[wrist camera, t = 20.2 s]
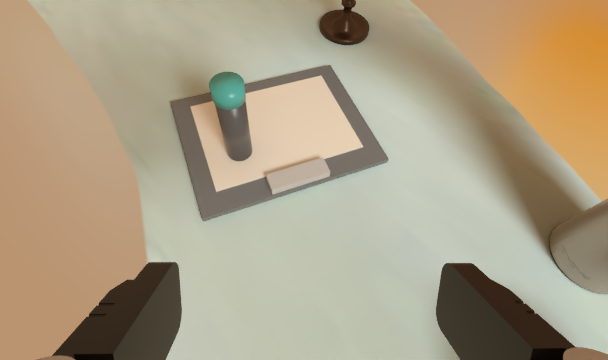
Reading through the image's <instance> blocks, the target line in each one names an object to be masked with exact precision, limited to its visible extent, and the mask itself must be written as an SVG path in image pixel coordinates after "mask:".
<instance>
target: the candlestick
mask: <svg viewBox="0 0 608 360" xmlns="http://www.w3.org/2000/svg"><path fill="white" fill-rule="evenodd" d="M342 5H343V6H344V10H334V11H330V12H328V13H326V14H325V15H324V16H323V17H322V18H321V21H320V31H321V33H322V34H323V36H324V37H325V38H327V39H328V40H330V41H332V42H334V43H337V44H342V45H353V44H357V43H360V42H362V41H363V40H364V39H365V38H366V37H367V35H368V31H369V24H368V22H367V20H366V19H365V18H364V17H362V16H361V15H359V14H358V13H355V12H352V11H351V9H352V7H354V6H355V5H356V1H355V0H342Z"/></svg>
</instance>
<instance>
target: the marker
mask: <svg viewBox="0 0 608 360" xmlns="http://www.w3.org/2000/svg"><path fill="white" fill-rule="evenodd" d="M209 87H210V91H211V95H212V99H213V102H214V104H215V107H216V111H217V115H218V119H219V123H220V127H221V131H222V135H223V139H224V143H225V147H226V151H227V154H228V156H229V158H231V159H232V160H234V161H244V160H246V159H248V158H249V157H250V156H251V154H252V144H251V137H250V129H249V122H248V115H247V108H246V94H245V86H244V80H243V78H242V77H241V76H240V75H238V74H236V73H233V72H222V73H219V74H217V75H215V76H214V77H213V78H212V79H211V80H210V83H209Z"/></svg>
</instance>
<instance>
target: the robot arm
mask: <svg viewBox="0 0 608 360" xmlns="http://www.w3.org/2000/svg"><path fill="white" fill-rule="evenodd" d="M550 248H551V252H552V255H553V257H554V260H555V262H556V263H557V265H558V266H559V268H560V269H561V270H562V271H563V272H564V274H565V275H566V276H567V277H568V278H570V279H571V280H572V281H573V282H574V283H576V284H577V285H579V286H581V287H582V288H584V289H587V290H589V291H591V292H595V293H599V294H608V199H606V200H604V201H602V202H600V203H599V204H597V205H595V206H593V207H591V208H589V209H587V210H586V211H583V212H582V213H580V214H578V215H576V216H574V217H572V218H570V219H569V220H567V221H565V222H563V223H561V224H559V225H558V226H557V227H556V228H554V230H553V231H552V233H551V237H550ZM181 313H182V308H181V294H180V280H179V268H178V265H177V263H176V262H149V263H148V264H147V265H146V266H145V267H144V269H143V270H142V271H141V272H140V273H139V274H138V276H137V277H136V278H135V279H134V280H126V281H125V282H123V283H121V284H120V285H118V286H117V287H115V288H113V289H112V290H110V291H109V292H108V294H107V295H106V296H105V297H104V298H103V299H102V300H101V301H100V303H99V306H96V307H95V308H94V309H93V310H92V312H91V313H90V314H89V317H86V318H85V319H84V321H83V322H82V323H81V324H80V325H79V326H78V327H77V328H76V329H75V331H74V332H73V333H72V334H71V335H70V336H69V337H68V339H67V340H66V341H65V342H64V343H63V344H62V345H61V346H60V348H59V349H58V350H57V351H56V352H55V353H54V354H53V355H52V356H51V357H45V358H41V359H38V360H166V357H167V355H168V353H169V351H170V348H171V346H172V344H173V342H174V340H175V337H176V335H177V333H178V330H179V327H180V322H181ZM436 316H437V321H438V324H439V327H440V329H441V331H442V332H443V334H444V335H445V337H446V338H447V340H448V341H449V343H450V345H451V346H452V348H453V349H454V351H455V352H456V354H457V355H458V357H459V358H460V360H608V354H605V353H602V352H599V351H596V350H592V349H588V348H579V347H575V346H574V345H572V344H571V343H570V342H569V341H568V340H567V339H566V338H564V337H563V336H562V335H561V334H560V333H559V332H557V331H556V330H555V329H554V328H553V327H552V326H551V325H549V324H548V323H547V322H546V321H545V320H544V319H543V318H541V317H540V316H539V315H538V314H535V313H534V311H533V310H532V309H531V308H530V307H529V306H528V305H527V304H523V301H522V300H521V299H520V298H518V297H517V296H516V295H515V294H514V293H513V292H512V291H510V290H509V289H507V288H506V287H504V286H502V285H500V284H498V283H496V282H495V281H493V280H491V279H489V278H488V277H487V276H486V275H485V274H484V273H483V272H482V271H481V270H479V269H478V268H477V267H476V266H475V265H474V264H472V263H446V264H445V265H444V266H443V268H442V273H441V279H440V286H439V293H438V299H437V306H436Z"/></svg>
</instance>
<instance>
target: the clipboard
mask: <svg viewBox="0 0 608 360" xmlns="http://www.w3.org/2000/svg"><path fill="white" fill-rule="evenodd" d="M244 86H245V94H246V108H247V115H248V122H249V129H250V137H251V144H252V154H251V156H250V157H249V158H248V159H246V160H244V161H234V160H232V159H231V158H229V156H228V154H227V151H226V147H225V143H224V139H223V135H222V131H221V127H220V123H219V119H218V115H217V111H216V107H215V104H214V102H213V99H212V95H211V93H207V94H203V95H198V96H194V97H190V98H185V99H181V100H177V101H172V102H171V105H172V109H173V113H174V117H175V120H176V124H177V128H178V131H179V135H180V139H181V143H182V146H183V150H184V154H185V157H186V161H187V165H188V168H189V172H190V176H191V180H192V183H193V187H194V191H195V194H196V198H197V202H198V206H199V209H200V213H201V217H202V220H203V221H206V220H209V219H212V218H215V217H219V216H222V215H225V214H228V213H231V212H234V211H237V210H240V209H243V208H246V207H250V206H253V205H256V204H259V203H262V202H265V201H268V200H271V199H274V198H277V197H281V196H284V195H287V194H290V193H293V192H296V191H299V190H302V189H305V188H308V187H311V186H315V185H318V184H321V183H324V182H327V181H330V180H333V179H336V178H339V177H342V176H346V175H349V174H352V173H355V172H358V171H361V170H364V169H367V168H370V167H373V166H377V165H380V164H383V163H386V162H387V161H388V157H387V156H386V154H385V152H384V151H383V149H382V148H381V146H380V144H379V143H378V141H377V140H376V138H375V136H374V135H373V133H372V131H371V130H370V128H369V127H368V125H367V123H366V122H365V120H364V119H363V117H362V115H361V114H360V112H359V111H358V109H357V107H356V106H355V104H354V103H353V101H352V99H351V98H350V96H349V95H348V93H347V91H346V90H345V88H344V87H343V85H342V83H341V82H340V80H339V79H338V77H337V75H336V74H335V72H334V71H333V69H332V67H331V66H330V65H328V66H324V67H319V68H315V69H311V70H306V71H302V72H298V73H293V74H289V75H285V76H280V77H276V78H272V79H267V80H263V81H259V82H254V83H250V84H246V85H244Z"/></svg>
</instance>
